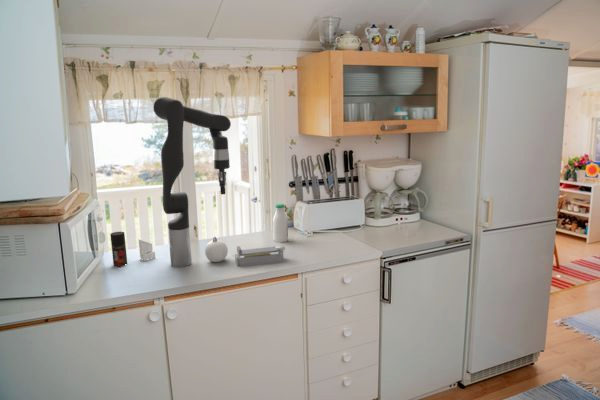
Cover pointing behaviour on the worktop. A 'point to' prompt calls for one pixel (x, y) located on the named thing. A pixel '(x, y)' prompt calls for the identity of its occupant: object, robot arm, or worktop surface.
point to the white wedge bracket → (146, 250)
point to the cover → (259, 250)
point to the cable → (257, 255)
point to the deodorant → (118, 248)
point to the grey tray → (259, 259)
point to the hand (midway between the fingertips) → (223, 194)
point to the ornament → (216, 250)
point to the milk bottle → (280, 224)
